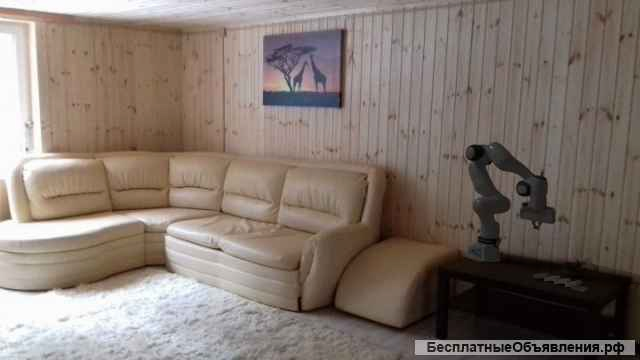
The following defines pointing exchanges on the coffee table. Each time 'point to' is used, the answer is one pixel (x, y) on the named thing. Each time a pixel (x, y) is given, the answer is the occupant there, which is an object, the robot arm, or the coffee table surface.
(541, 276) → the domino
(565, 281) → the domino
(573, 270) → the box
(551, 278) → the domino
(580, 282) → the domino
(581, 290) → the domino
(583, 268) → the coffee table surface
